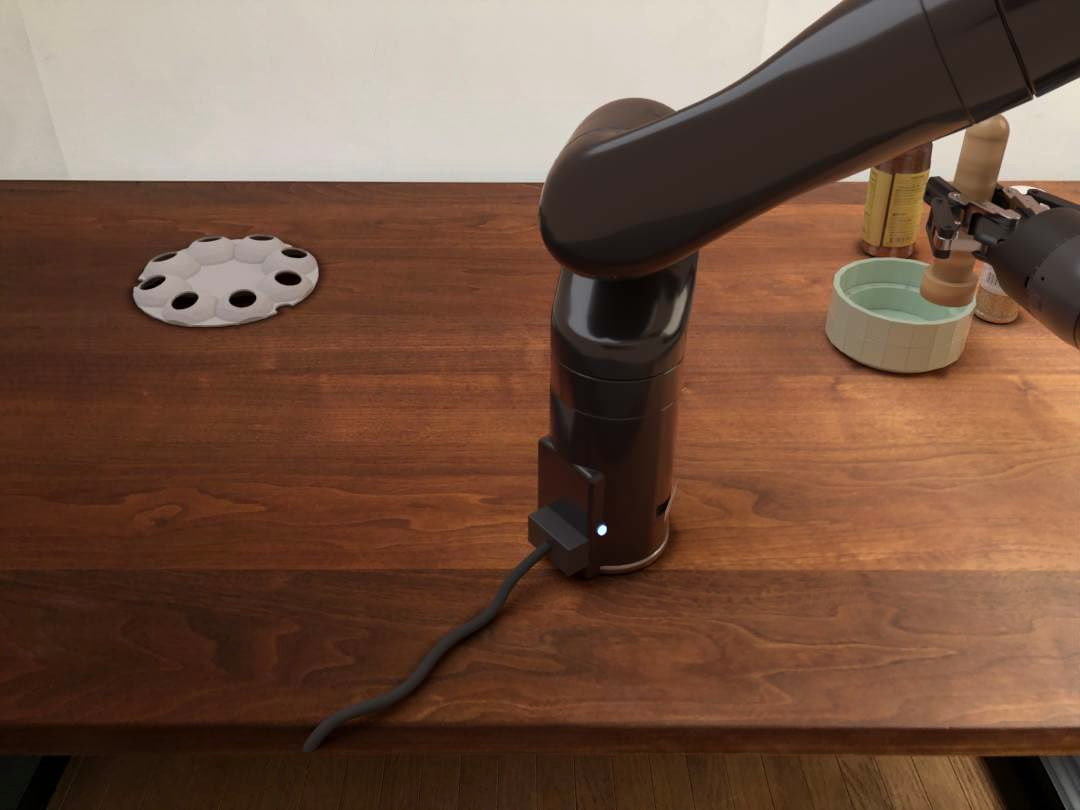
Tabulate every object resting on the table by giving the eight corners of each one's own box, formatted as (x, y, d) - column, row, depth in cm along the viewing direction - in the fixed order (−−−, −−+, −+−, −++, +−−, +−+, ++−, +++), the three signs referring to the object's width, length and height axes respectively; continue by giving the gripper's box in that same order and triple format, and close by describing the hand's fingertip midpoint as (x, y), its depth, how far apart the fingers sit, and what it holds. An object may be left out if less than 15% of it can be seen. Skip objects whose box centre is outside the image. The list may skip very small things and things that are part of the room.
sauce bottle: (920, 246, 122) (960, 75, 111) (904, 267, 118) (944, 92, 106) (865, 233, 125) (898, 65, 114) (847, 253, 121) (880, 81, 109)
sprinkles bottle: (1025, 317, 109) (1063, 196, 101) (997, 329, 107) (1033, 207, 99) (988, 298, 112) (1022, 180, 105) (960, 310, 110) (992, 190, 102)
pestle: (953, 313, 88) (1002, 126, 79) (908, 292, 91) (950, 110, 82) (983, 297, 90) (1034, 114, 81) (939, 277, 93) (983, 99, 84)
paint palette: (259, 341, 105) (256, 323, 103) (94, 308, 110) (89, 291, 109) (350, 255, 120) (348, 239, 119) (201, 230, 125) (198, 214, 124)
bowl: (906, 394, 98) (920, 339, 94) (796, 335, 106) (805, 282, 103) (988, 348, 104) (1004, 295, 101) (878, 296, 113) (889, 245, 109)
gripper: (1186, 223, 73) (1038, 135, 87) (1003, 242, 70) (881, 148, 84) (1150, 317, 77) (1014, 219, 91) (976, 338, 75) (864, 233, 89)
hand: (951, 185), depth 88 cm, fingers closed on pestle, 3 cm apart
